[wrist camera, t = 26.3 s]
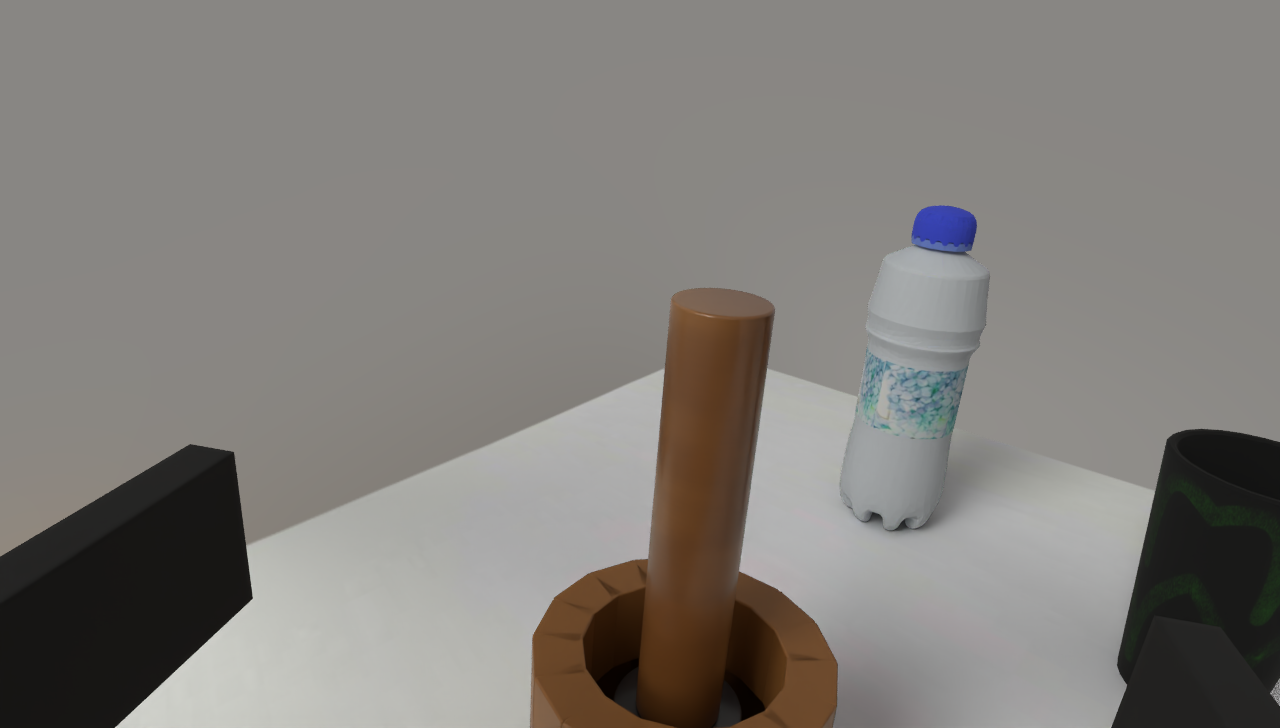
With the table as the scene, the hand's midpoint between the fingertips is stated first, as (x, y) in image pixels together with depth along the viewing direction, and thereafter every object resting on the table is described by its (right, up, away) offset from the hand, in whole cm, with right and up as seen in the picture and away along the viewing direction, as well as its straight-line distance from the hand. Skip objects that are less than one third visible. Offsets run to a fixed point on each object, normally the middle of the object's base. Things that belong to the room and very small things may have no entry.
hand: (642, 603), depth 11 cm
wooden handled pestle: (+1, -14, +15) cm, 20 cm away
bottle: (+16, -6, +40) cm, 43 cm away
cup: (+26, -12, +26) cm, 39 cm away
